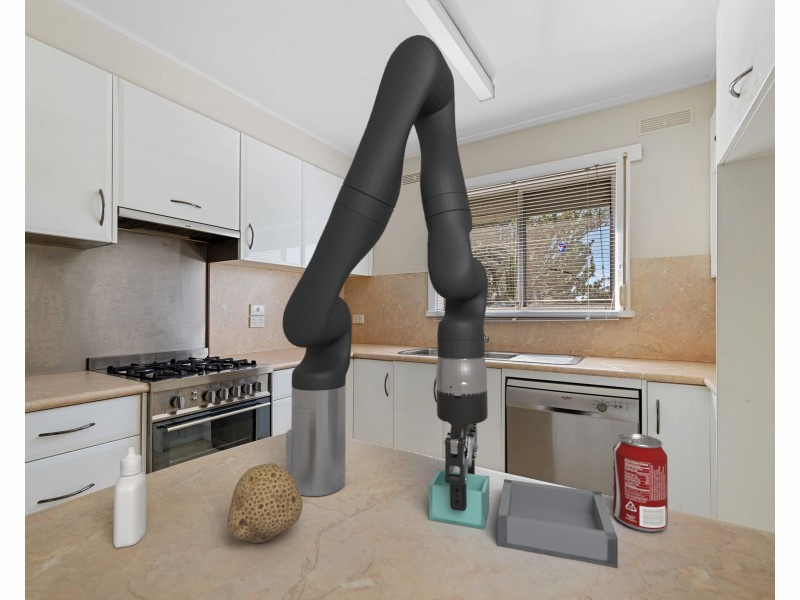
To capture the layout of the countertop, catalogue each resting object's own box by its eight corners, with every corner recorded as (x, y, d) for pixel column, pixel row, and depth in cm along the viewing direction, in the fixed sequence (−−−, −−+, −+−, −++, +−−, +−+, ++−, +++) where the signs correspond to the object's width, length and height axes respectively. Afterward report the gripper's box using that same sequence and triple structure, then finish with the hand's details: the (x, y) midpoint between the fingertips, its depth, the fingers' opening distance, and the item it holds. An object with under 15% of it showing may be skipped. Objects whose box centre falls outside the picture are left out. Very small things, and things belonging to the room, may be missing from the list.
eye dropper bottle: (97, 547, 52) (98, 454, 52) (132, 524, 58) (133, 439, 58) (127, 551, 51) (128, 456, 52) (160, 527, 57) (161, 441, 57)
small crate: (429, 519, 59) (429, 485, 59) (438, 500, 65) (438, 469, 65) (484, 529, 57) (484, 493, 57) (489, 509, 62) (489, 476, 62)
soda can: (676, 538, 55) (676, 449, 55) (621, 532, 56) (621, 445, 56) (655, 513, 61) (655, 433, 61) (607, 508, 63) (607, 430, 63)
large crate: (497, 545, 53) (497, 518, 53) (504, 501, 65) (504, 479, 65) (617, 567, 48) (617, 538, 49) (601, 515, 60) (601, 492, 60)
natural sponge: (313, 528, 57) (314, 456, 57) (279, 568, 48) (280, 483, 48) (256, 519, 59) (256, 450, 59) (214, 556, 50) (215, 475, 51)
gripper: (446, 377, 69) (448, 473, 69) (425, 395, 55) (427, 515, 55) (491, 379, 67) (493, 479, 66) (481, 398, 53) (483, 523, 53)
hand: (463, 495), depth 61 cm, fingers open, 8 cm apart
